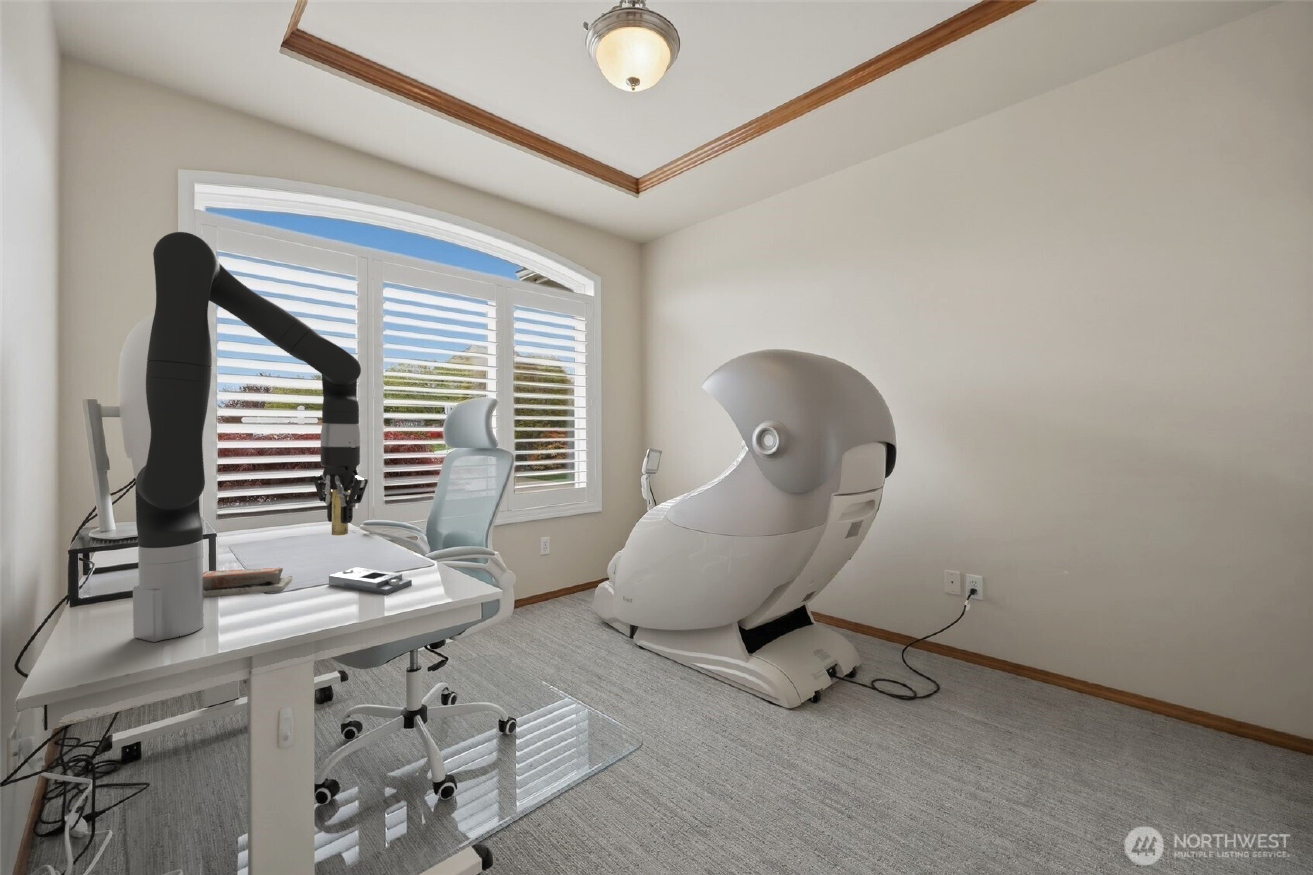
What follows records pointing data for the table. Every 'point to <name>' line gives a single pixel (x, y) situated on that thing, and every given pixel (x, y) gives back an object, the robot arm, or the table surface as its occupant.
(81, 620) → the table surface
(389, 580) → the grey plate with window
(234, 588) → the packaged product
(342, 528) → the brass pin
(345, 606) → the table surface
